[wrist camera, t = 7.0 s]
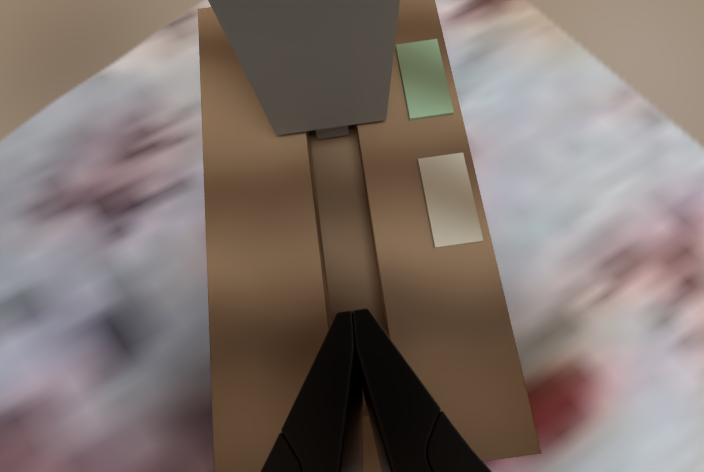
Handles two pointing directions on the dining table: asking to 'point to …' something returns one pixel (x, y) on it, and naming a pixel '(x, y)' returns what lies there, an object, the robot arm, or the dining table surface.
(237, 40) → the switch handle
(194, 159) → the dining table surface
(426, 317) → the wooden slotted board
